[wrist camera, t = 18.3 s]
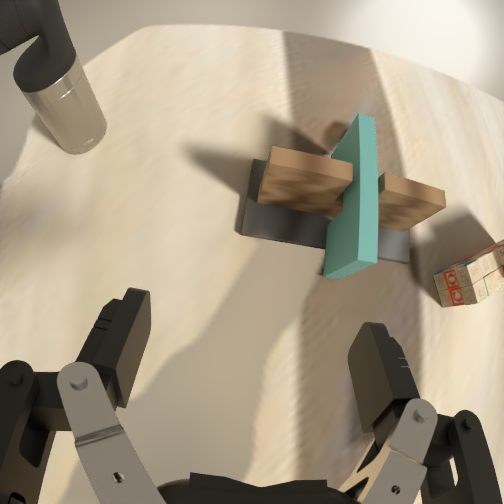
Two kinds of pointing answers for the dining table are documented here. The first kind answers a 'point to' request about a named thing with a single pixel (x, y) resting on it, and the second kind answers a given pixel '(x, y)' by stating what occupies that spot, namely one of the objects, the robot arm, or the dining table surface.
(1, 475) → the robot arm
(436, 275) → the stack of blocks
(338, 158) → the teal plate
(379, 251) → the halving stand
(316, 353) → the dining table surface
